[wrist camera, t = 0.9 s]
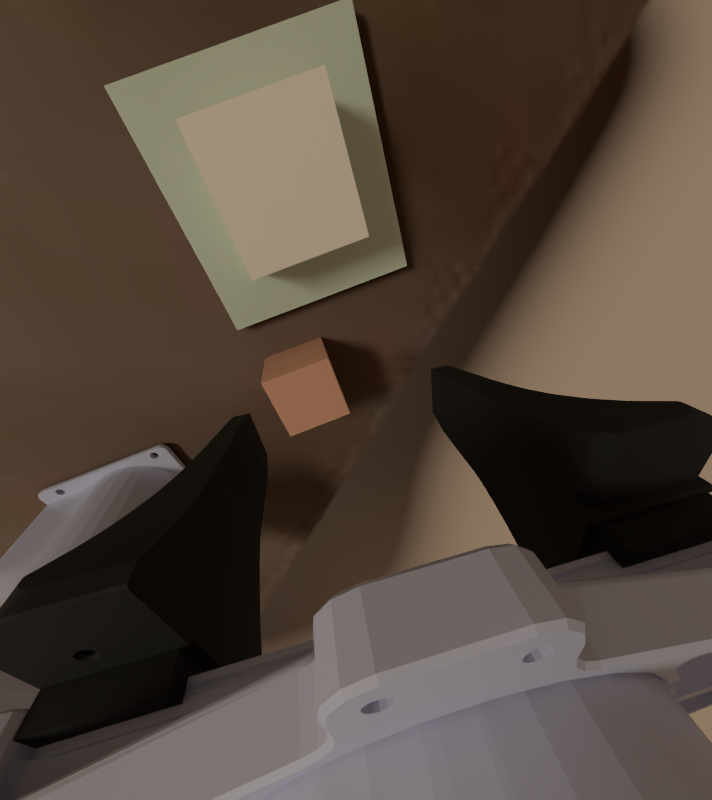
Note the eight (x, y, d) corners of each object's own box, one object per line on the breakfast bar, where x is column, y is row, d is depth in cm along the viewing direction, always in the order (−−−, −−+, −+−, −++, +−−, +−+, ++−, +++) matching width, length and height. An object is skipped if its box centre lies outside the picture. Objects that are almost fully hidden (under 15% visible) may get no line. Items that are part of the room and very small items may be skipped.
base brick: (257, 273, 17) (251, 280, 14) (195, 140, 14) (174, 119, 11) (356, 235, 17) (369, 236, 14) (317, 95, 14) (324, 64, 11)
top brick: (289, 405, 22) (290, 436, 19) (265, 358, 20) (261, 383, 17) (340, 385, 22) (349, 413, 19) (320, 336, 20) (327, 357, 17)
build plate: (239, 326, 19) (237, 330, 18) (113, 93, 13) (103, 85, 12) (402, 264, 19) (407, 265, 18) (348, 8, 13) (351, -4, 13)
